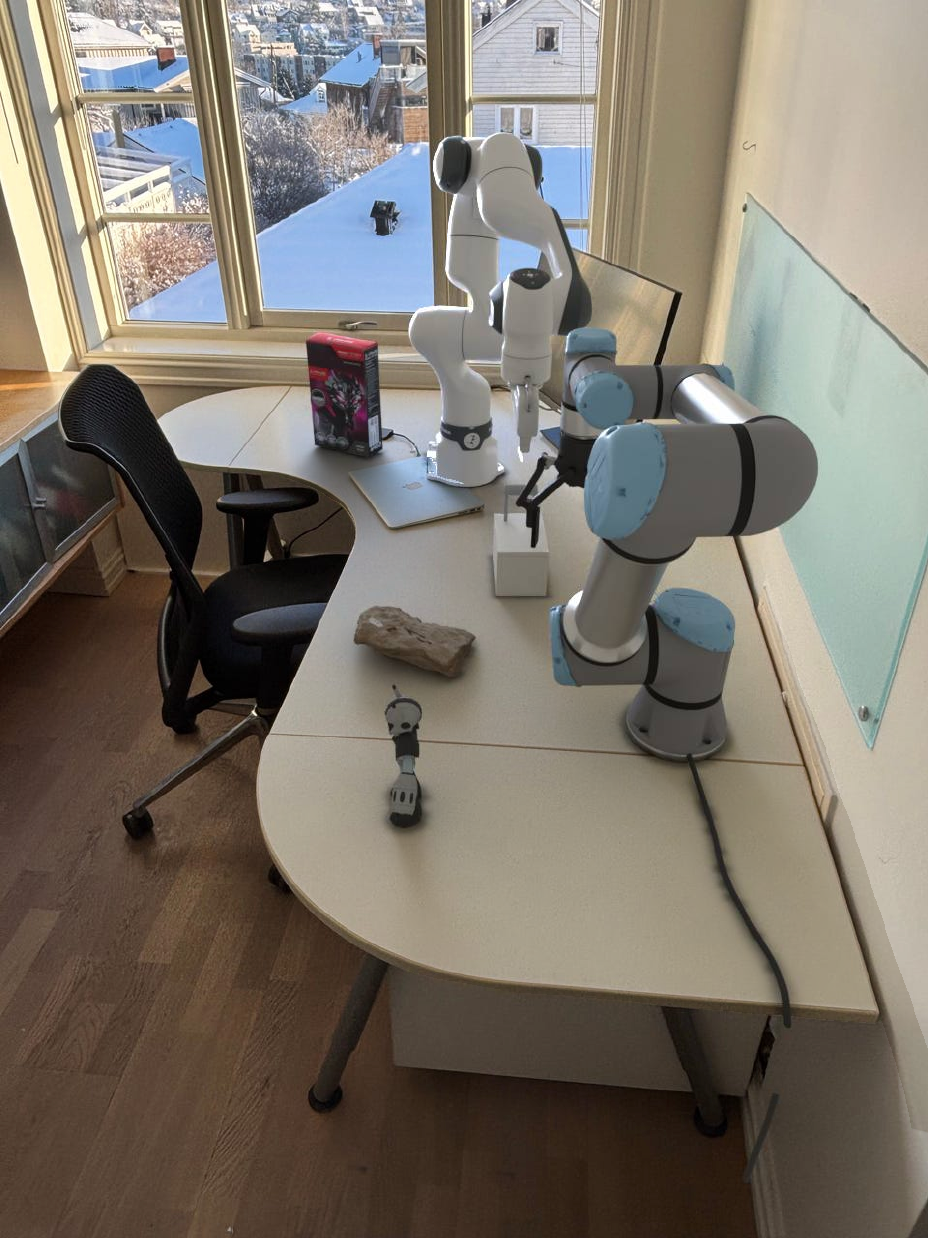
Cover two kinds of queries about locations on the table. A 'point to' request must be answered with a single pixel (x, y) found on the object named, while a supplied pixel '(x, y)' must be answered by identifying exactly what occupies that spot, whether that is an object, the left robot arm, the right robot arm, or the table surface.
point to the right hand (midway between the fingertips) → (573, 550)
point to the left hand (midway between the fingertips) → (522, 440)
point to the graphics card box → (345, 393)
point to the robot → (405, 758)
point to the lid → (518, 529)
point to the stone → (413, 639)
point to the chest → (520, 574)
